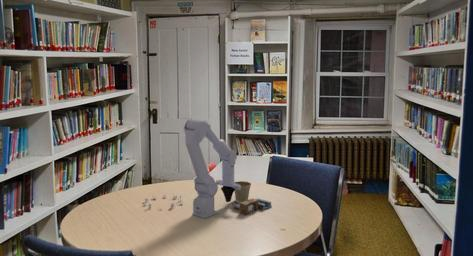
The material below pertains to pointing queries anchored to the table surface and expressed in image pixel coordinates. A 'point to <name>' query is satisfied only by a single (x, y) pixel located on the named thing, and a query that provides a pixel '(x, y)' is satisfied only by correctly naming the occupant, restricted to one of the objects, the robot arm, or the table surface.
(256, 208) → the brown wooden u-shaped block
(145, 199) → the game piece set
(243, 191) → the flower pot
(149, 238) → the table surface
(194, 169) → the robot arm
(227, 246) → the table surface
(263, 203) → the v block
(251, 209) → the grey metal cylinder
